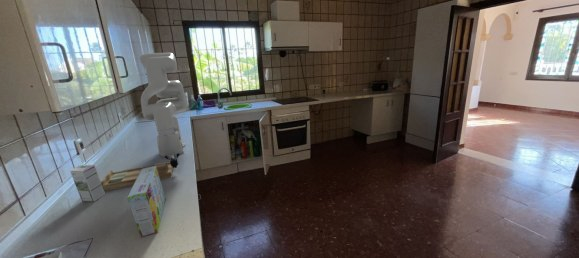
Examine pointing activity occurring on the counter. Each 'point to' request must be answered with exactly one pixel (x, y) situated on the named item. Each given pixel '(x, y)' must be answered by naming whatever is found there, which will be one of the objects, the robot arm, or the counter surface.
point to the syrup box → (87, 183)
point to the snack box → (147, 201)
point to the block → (162, 167)
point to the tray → (128, 177)
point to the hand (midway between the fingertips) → (175, 166)
